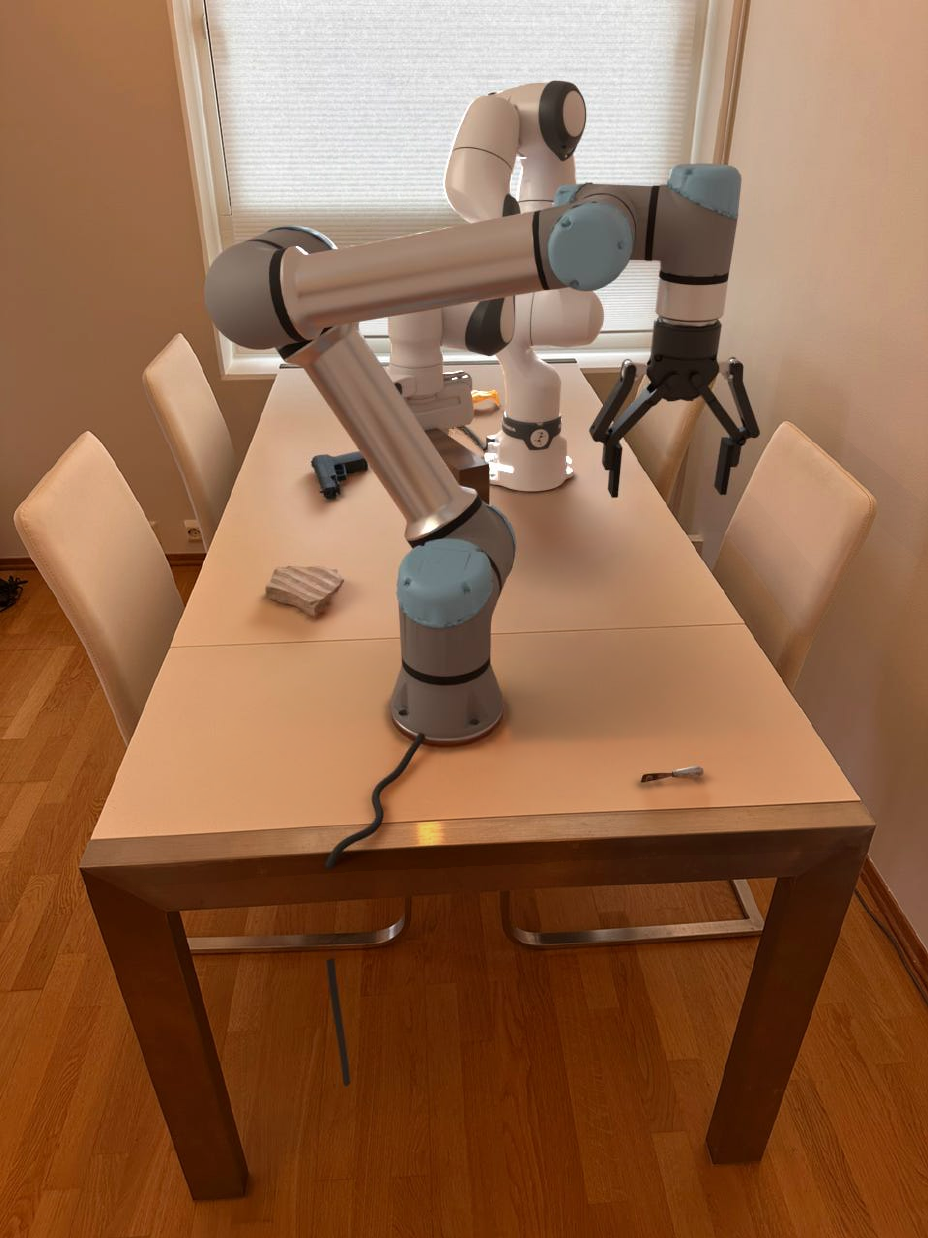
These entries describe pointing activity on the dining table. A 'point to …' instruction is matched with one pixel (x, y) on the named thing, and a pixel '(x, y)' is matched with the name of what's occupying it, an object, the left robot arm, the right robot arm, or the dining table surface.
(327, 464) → the handgun
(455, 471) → the bar
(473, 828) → the dining table surface
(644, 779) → the putty knife
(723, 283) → the left robot arm
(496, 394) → the human figure
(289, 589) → the stone
